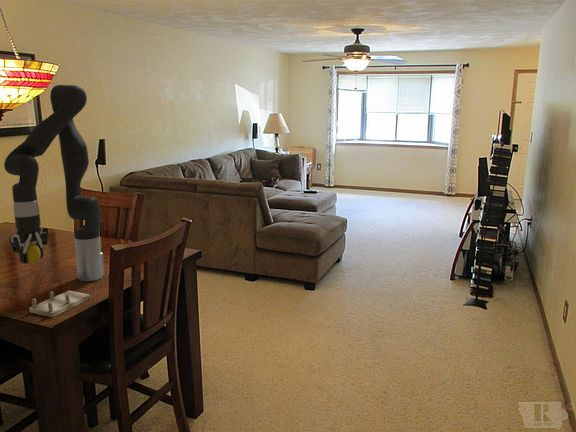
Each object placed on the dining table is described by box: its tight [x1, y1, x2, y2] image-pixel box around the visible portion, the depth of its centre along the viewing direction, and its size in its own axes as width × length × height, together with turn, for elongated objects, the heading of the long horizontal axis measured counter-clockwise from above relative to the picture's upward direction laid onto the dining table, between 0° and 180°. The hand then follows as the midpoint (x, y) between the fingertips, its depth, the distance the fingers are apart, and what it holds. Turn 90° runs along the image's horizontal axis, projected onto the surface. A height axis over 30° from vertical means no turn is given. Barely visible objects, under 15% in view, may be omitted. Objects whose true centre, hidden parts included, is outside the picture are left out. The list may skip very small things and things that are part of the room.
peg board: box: [29, 290, 91, 318], centre depth 166 cm, size 17×10×4 cm, turn 159°
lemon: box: [26, 242, 41, 265], centre depth 165 cm, size 6×6×8 cm
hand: (32, 260), depth 165 cm, fingers closed on lemon, 5 cm apart
